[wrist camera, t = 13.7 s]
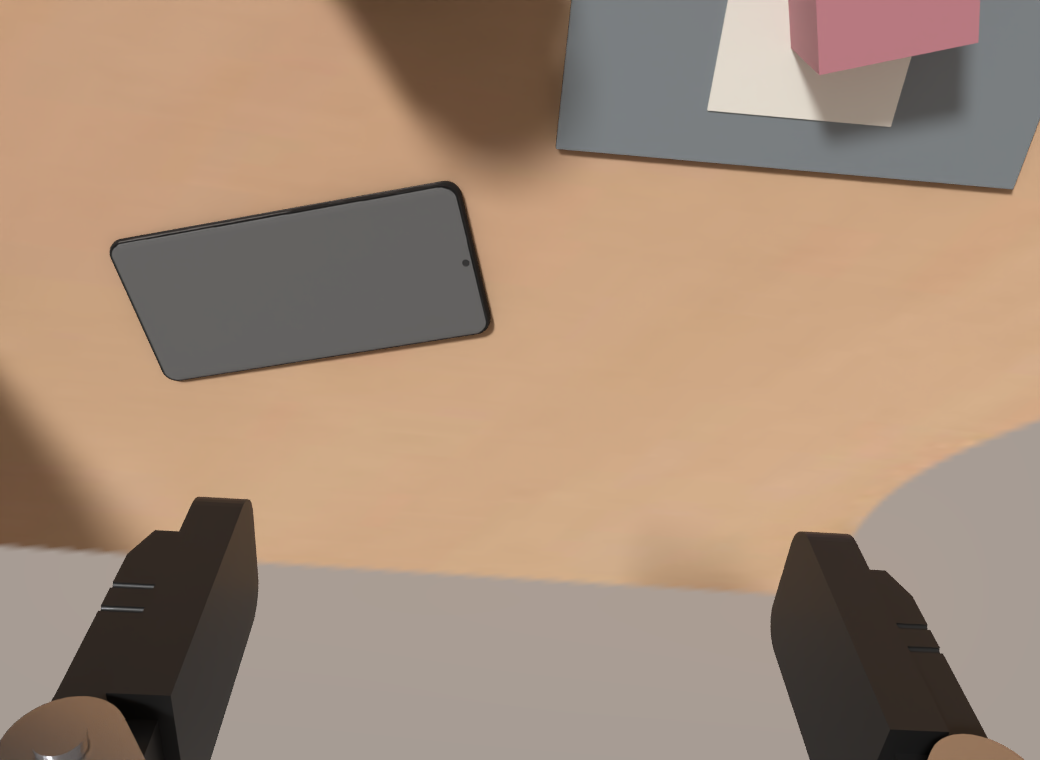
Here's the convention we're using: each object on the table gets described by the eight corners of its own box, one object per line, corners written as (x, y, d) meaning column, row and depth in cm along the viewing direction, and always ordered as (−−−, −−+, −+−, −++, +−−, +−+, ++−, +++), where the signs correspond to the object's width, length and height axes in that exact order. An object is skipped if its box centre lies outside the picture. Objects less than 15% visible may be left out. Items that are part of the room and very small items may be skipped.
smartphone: (102, 245, 39) (456, 182, 37) (111, 236, 39) (458, 174, 38) (166, 385, 42) (492, 334, 40) (173, 374, 43) (493, 324, 41)
